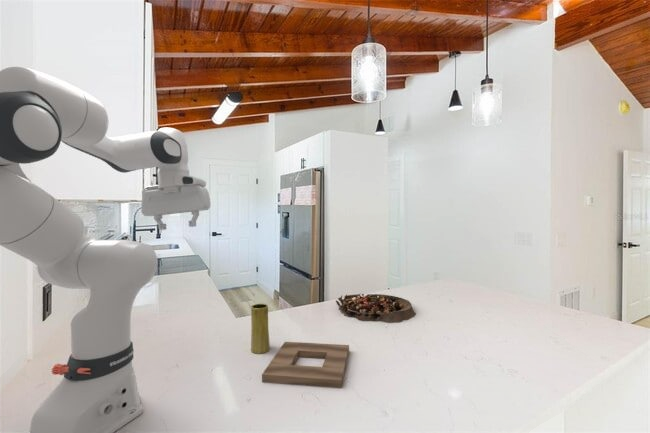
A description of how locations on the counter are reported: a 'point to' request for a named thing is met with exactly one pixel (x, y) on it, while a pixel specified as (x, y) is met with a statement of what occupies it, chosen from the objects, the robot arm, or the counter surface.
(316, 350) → the socket
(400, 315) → the food dish
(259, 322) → the vase
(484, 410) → the counter surface
